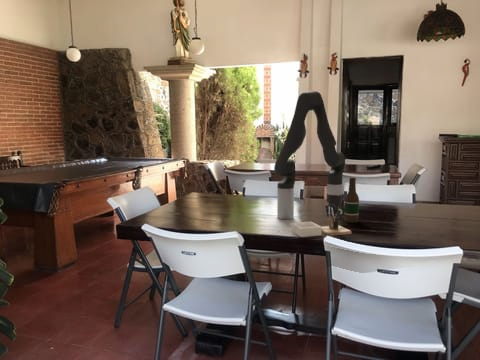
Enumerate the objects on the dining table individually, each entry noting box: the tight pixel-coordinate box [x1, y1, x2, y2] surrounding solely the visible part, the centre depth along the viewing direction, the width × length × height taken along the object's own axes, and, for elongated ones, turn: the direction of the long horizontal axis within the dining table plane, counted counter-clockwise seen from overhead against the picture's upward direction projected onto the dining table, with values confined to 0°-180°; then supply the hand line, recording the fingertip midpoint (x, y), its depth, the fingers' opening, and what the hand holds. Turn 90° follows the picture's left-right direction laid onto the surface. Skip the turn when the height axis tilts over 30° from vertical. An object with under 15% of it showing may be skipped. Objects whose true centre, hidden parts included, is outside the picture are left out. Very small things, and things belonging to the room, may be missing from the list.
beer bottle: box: [343, 176, 360, 224], centre depth 206 cm, size 8×8×24 cm
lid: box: [320, 216, 352, 236], centre depth 189 cm, size 12×12×7 cm
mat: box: [321, 231, 351, 236], centre depth 189 cm, size 14×12×1 cm
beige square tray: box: [291, 221, 322, 238], centre depth 185 cm, size 11×11×4 cm
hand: (333, 227), depth 189 cm, fingers closed on lid, 3 cm apart
